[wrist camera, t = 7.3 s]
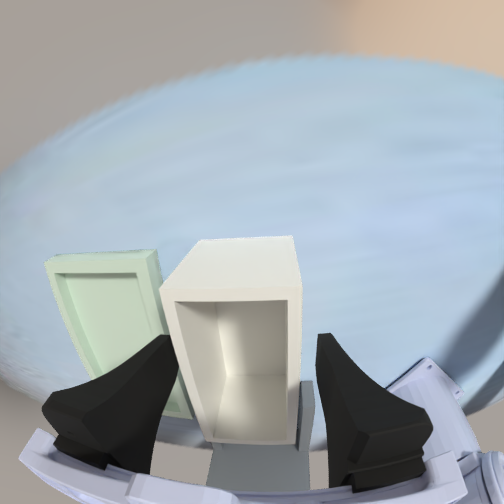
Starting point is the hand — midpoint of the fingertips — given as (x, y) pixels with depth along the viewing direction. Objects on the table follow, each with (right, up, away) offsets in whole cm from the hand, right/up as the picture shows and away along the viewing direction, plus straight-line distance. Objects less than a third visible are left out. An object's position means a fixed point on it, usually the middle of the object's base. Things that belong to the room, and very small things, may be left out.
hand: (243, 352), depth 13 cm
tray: (-9, -2, +5) cm, 10 cm away
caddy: (0, +1, +4) cm, 4 cm away
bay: (+1, -8, +7) cm, 10 cm away
